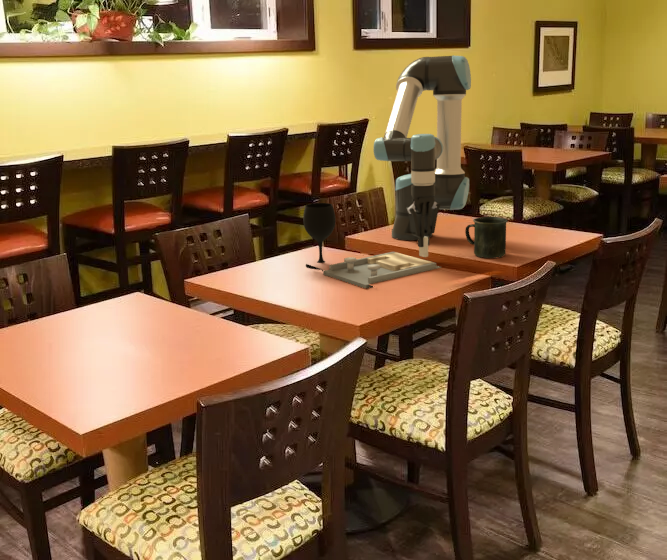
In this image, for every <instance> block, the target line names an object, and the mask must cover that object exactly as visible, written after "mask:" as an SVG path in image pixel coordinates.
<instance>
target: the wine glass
mask: <svg viewBox="0 0 667 560" xmlns="http://www.w3.org/2000/svg"><path fill="white" fill-rule="evenodd" d="M302 219H303V227H304V229H305V231H306V233H307V235H309V236H310V237H311V238H312V239H313V240H315V241H316V242H317V244H318V252H319V253H318V255H319V256H318V257H319V258H318V261H316V263H318V264H325V263H326V261H325V260H324V257H323V243H324V241H325V240H327V238H329V236H331V234H332V233H333V231H334V229H335V226H336V214H335V209H334V206H333V204H332V203H329V202H317V203H316V202H314V203H308V204H306V205H305V206H304V209H303V217H302ZM305 268H307V269H311V270H321V268H320V267H318V266H313V265H311V264H309V263H306V264H305Z"/></svg>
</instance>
